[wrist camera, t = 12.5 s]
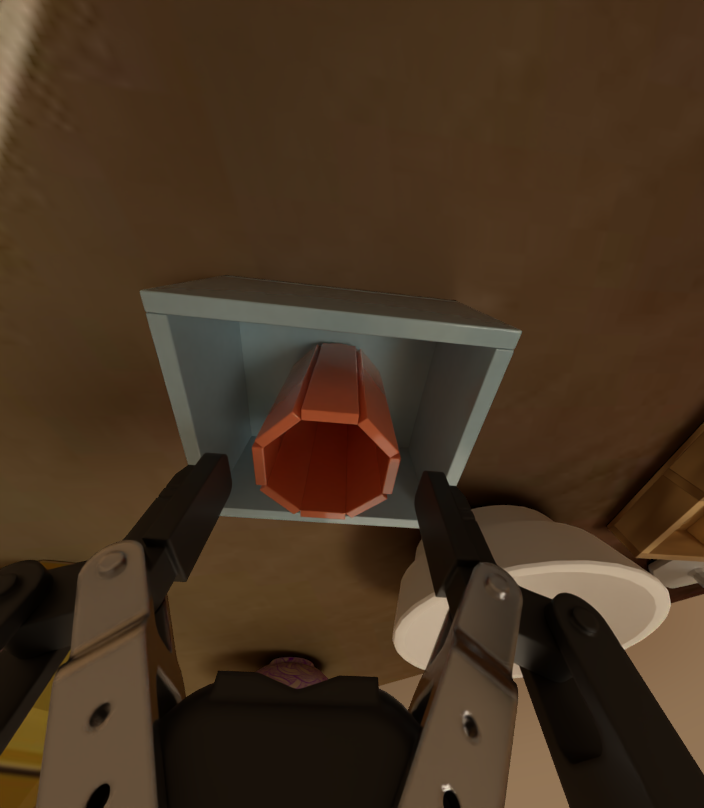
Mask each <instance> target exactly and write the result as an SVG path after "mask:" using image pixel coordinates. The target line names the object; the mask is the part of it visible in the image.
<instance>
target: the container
mask: <svg viewBox="0 0 704 808" xmlns="http://www.w3.org/2000/svg"><path fill="white" fill-rule="evenodd" d="M39 562H40V563H41V564H42V565H43V566H44V567H45V568H46V569H47V570H49V569H53V568H57V567H62V566H66V565H71V564H75V563H69V562H58V561H47V560H41V561H39ZM2 650H3V649H2ZM2 650H1V651H2ZM70 650H71V649H70ZM1 651H0V652H1ZM69 655H70V651H69V652H68V654H67V656H66V657H65V659H64V660H63V662H62V663H61V665H62V664H64V663H66V662H67V661H68V658H69ZM61 665H60V666H61ZM60 666H59V667H60ZM55 673H56V672H55ZM54 676H55V674H54V675H53V677H52V678H51V680H50V681H49V683H48V684H47V686H46V687H45V689H44V690H43V692H42V693H41V695H40V697H39V698H38V700H37V701H36V703H35V704H34V706H33V707H32V709H31V710H30V712H29V713H28V715H27V716H26V718H25V719H24V721H23V722H22V724H21V725H20V727H19V728H18V730H17V731H16V733H15V734H14V736H13V738H12V739H11V741H10V742H9V744H8V745H7V747H6V748H5V750H4V751H3V753H2V754H1V756H0V808H36V802H37V794H38V787H39V779H40V772H41V764H42V757H43V749H44V742H45V734H46V727H47V719H48V712H49V704H50V697H51V689H52V683H53V679H54Z"/></svg>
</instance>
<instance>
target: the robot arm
mask: <svg viewBox="0 0 704 808" xmlns="http://www.w3.org/2000/svg"><path fill="white" fill-rule="evenodd" d="M231 489H232V477H231V472H230V466H229V461H228V456H227V455H226V454H220V453H208V452H206V453H204V454H203V455H202V456H201V458H200V459H199V461H198V462H197V463H196V465H188V466H186V467H185V468H184V469H182V470H181V471H179V472H178V473H176V474H175V476H174V477H173V478H172V479H171V481H170V482H169V483H168V484H167V486H166V488H164V489H163V491H162V492H161V493H160V494H159V497H158V498H156V499H155V501H154V502H153V503H152V504H151V506H150V507H149V508H148V510H147V511H146V512H145V513H144V515H143V516H142V517H141V518H140V520H139V521H138V522H137V523H136V525H135V526H134V527H133V528H132V530H131V531H130V532H129V533H128V535H127V536H126V537H125V538H124V539H123V540H122V541H119V542H116V543H113V544H111V545H108V546H106V547H105V548H103V549H101V550H100V551H98V552H97V553H96V554H94V555H93V556H92V557H91V558H90V559H89V560H87V561H84V562H79V563H75V564H71V565H66V566H62V567H57V568H53V569H49V570H47V569H46V568H45V567H44V566H43V565H42V564H41V563H40V562H38V561H35V560H26V561H20V562H17V563H13V564H11V565H8V566H5V567H3V568H1V569H0V651H1V650H2V649H3V650H2V651H1V652H0V756H1V754H2V753H3V751H4V750H5V748H6V747H7V745H8V744H9V742H10V741H11V739H12V738H13V736H14V734H15V733H16V731H17V730H18V728H19V727H20V725H21V724H22V722H23V721H24V719H25V718H26V716H27V715H28V713H29V712H30V710H31V709H32V707H33V706H34V704H35V703H36V701H37V700H38V698H39V697H40V695H41V693H42V692H43V690H44V689H45V687H46V686H47V684H48V683H49V681H50V680H51V678H52V677H53V675H54V674H55V676H54V679H53V683H52V689H51V697H50V704H49V712H48V719H47V727H46V734H45V742H44V749H43V757H42V764H41V772H40V779H39V787H38V794H37V802H36V808H504V805H505V798H506V790H507V782H508V774H509V767H510V759H511V751H512V744H513V736H514V728H515V720H516V713H517V705H518V688H517V684H516V683H515V682H514V681H513V678H512V671H513V664H514V663H515V664H517V665H519V667H520V670H521V673H522V675H523V678H524V681H525V684H526V686H527V689H528V692H529V695H530V698H531V701H532V703H533V706H534V709H535V712H536V715H537V717H538V720H539V723H540V726H541V729H542V731H543V734H544V737H545V739H546V743H547V745H548V748H549V751H550V754H551V757H552V759H553V762H554V765H555V768H556V771H557V773H558V776H559V779H560V782H561V784H562V787H563V790H564V793H565V795H566V798H567V801H568V804H569V807H570V808H704V775H703V773H702V771H701V770H700V768H699V767H698V765H697V763H696V762H695V760H694V759H693V757H692V756H691V754H690V752H689V751H688V749H687V748H686V746H685V745H684V743H683V741H682V740H681V738H680V737H679V735H678V734H677V732H676V730H675V729H674V727H673V726H672V724H671V723H670V721H669V720H668V718H667V716H666V715H665V713H664V712H663V710H662V708H661V707H660V705H659V704H658V702H657V701H656V699H655V697H654V696H653V694H652V693H651V691H650V690H649V688H648V686H647V685H646V683H645V682H644V680H643V679H642V677H641V675H640V674H639V672H638V671H637V669H636V668H635V666H634V664H633V663H632V661H631V660H630V658H629V657H628V655H627V653H626V652H625V650H624V649H623V647H622V646H621V644H620V642H619V641H618V639H617V638H616V636H615V635H614V633H613V631H612V630H611V628H610V627H609V625H608V624H607V622H606V621H605V619H604V618H603V617H602V616H601V614H600V613H599V612H598V611H597V610H596V609H595V608H594V607H592V606H591V605H590V604H589V603H588V602H586V601H585V600H583V599H582V598H580V597H578V596H576V595H573V594H570V593H559V594H557V595H556V596H555V597H554V598H553V599H550V598H548V597H545V596H543V595H540V594H538V593H535V592H533V591H530V590H528V589H525V588H523V587H521V586H519V585H518V584H517V583H516V581H515V580H514V579H513V577H512V576H511V575H510V574H509V573H508V572H506V571H505V570H504V569H502V568H501V567H499V566H498V565H497V564H496V562H495V560H494V558H493V556H492V554H491V551H490V549H489V547H488V545H487V543H486V540H485V538H484V536H483V534H482V532H481V529H480V527H479V525H478V523H477V521H476V520H475V516H474V514H473V512H472V511H471V508H470V505H469V503H468V501H467V499H466V497H465V496H464V494H463V493H462V492H461V491H460V490H459V489H458V488H457V487H456V486H451V485H449V483H448V481H447V478H446V476H445V474H444V473H443V472H438V471H426V470H425V471H423V473H422V476H421V479H420V482H419V485H418V488H417V491H416V494H415V500H414V506H415V512H416V516H417V521H418V525H419V529H420V533H421V537H422V542H423V546H424V550H425V554H426V558H427V563H428V567H429V571H430V575H431V579H432V584H433V588H434V592H435V596H436V597H442V598H447V602H448V605H449V609H448V611H447V614H446V616H445V619H444V622H443V624H442V627H441V630H440V632H439V635H438V638H437V640H436V643H435V646H434V648H433V651H432V654H431V656H430V659H429V662H428V664H427V667H426V669H425V671H424V673H423V675H422V678H421V679H420V682H419V684H418V686H417V688H416V691H415V693H414V696H413V698H412V701H411V704H410V706H409V709H408V710H407V709H406V708H405V707H404V706H403V705H402V704H401V703H400V702H399V701H397V699H395V698H394V697H393V696H391V695H390V694H388V693H387V692H385V691H383V690H381V689H379V687H378V677H361V676H337V677H334V678H331V679H328V680H325V681H322V682H319V683H316V684H313V685H310V686H307V687H304V688H300V689H295V688H292V687H290V686H288V685H285V684H283V683H281V682H279V681H277V680H274V679H272V678H270V677H268V676H265V675H263V674H261V673H259V672H236V671H218V673H217V676H216V679H215V682H214V683H213V684H209V685H207V686H205V687H203V688H201V689H199V690H197V691H195V692H194V693H192V694H191V695H189V696H187V697H186V694H185V687H184V682H183V677H182V673H181V670H180V667H179V664H178V660H177V656H176V650H175V643H174V636H173V629H172V622H171V615H170V608H169V601H168V596H167V592H168V590H169V589H170V587H171V585H172V583H173V581H178V582H186V581H187V579H188V577H189V575H190V573H191V571H192V569H193V567H194V565H195V563H196V561H197V559H198V557H199V555H200V553H201V551H202V549H203V547H204V545H205V543H206V541H207V539H208V537H209V536H210V534H211V532H212V530H213V528H214V526H215V524H216V522H217V520H218V518H219V516H220V514H221V512H222V510H223V508H224V506H225V504H226V502H227V500H228V498H229V496H230V493H231ZM70 649H71V650H70ZM69 651H70V655H69V658H68V661H67V662H66V663H64V664H62V665H61V663H62V662H63V660H64V659H65V657H66V656H67V654H68V652H69ZM60 665H61V666H60ZM59 666H60V667H59ZM55 672H56V673H55Z"/></svg>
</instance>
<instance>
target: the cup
mask: <svg viewBox="0 0 704 808" xmlns="http://www.w3.org/2000/svg"><path fill="white" fill-rule="evenodd" d="M252 455H253V464H254V472H255V481H256V485H261V488H260V491H261V492H263V493H264V494H266V495H267V496H268V497H270V498H271V499H273V500H274V501H275V502H277V503H278V504H280V505H281V506H283V507H284V508H285V509H287V510H288V511H290V512H291V513H292V514H295V513H297V512H299V511H300V516H301V517H312V518H327V519H343V520H344V519H345V515H346V514H347V515H348V516H350V517H351V518H353V517H355V516H357V515H358V514H360V513H362V512H364V511H366V510H368V509H370V508H372V507H373V506H375V505H377V504H379V503H381V502H383V501H385V500H387V494H392V492H393V488H394V484H395V480H396V476H397V472H398V468H399V465H400V461H401V457H400V453H399V449H398V445H397V440H396V436H395V432H394V428H393V424H392V420H391V416H390V411H389V407H388V403H387V399H386V395H385V391H384V387H383V382H382V378H381V375H380V372H379V370H378V369H377V368H376V367H375V365H374V364H373V363H372V362H371V361H370V359H369V358H368V357H367V356H366V355H365V353H364V352H363V351H362V350H361V349H359V350H358V349H357V348H356V346H350V345H346V344H341V343H322V345H320V346H318V345H316V346H315V347H314V348H312V349H311V350H310V351H309V352H308V353H306V354H305V355H304V356H303V357H302V358H301V359H299V360H298V361H297V362H296V363H295V364H294V365H293V367H292V369H291V371H290V373H289V375H288V377H287V379H286V381H285V383H284V385H283V386H282V388H281V390H280V392H279V394H278V396H277V398H276V400H275V402H274V404H273V406H272V408H271V410H270V412H269V414H268V416H267V417H266V419H265V421H264V423H263V425H262V427H261V429H260V431H259V433H258V435H257V437H256V439H255V442H254V444H253V446H252Z"/></svg>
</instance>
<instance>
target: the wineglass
mask: <svg viewBox="0 0 704 808" xmlns="http://www.w3.org/2000/svg"><path fill="white" fill-rule="evenodd" d="M648 572H649V573H650V574H652V575H653V576H655V577H656V578H658V579H659V580H660V582H661V583H662V584H663V585H664V586H666V587H670V588H677V587H681V586H686V585H690V584H695V583H699V584H700V585H701V586H702V587H703V588H704V562H697V561H681V560H664V559H658V560H656V561H654V562H653V563H651V564H649V565H648Z"/></svg>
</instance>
